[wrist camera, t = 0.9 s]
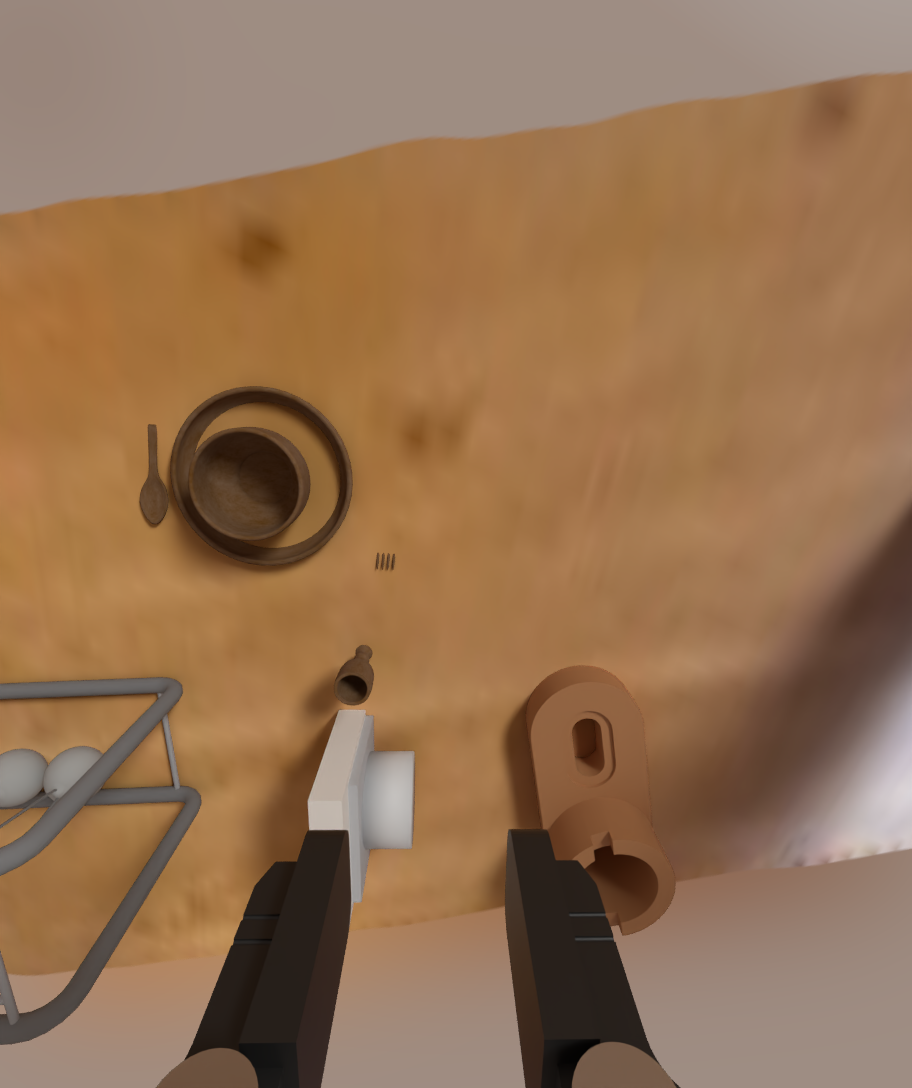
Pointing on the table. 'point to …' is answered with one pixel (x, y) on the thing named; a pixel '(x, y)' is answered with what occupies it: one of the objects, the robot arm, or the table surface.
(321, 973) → the robot arm
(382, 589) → the table surface
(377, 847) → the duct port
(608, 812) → the bracket
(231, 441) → the place setting
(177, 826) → the newton's cradle
